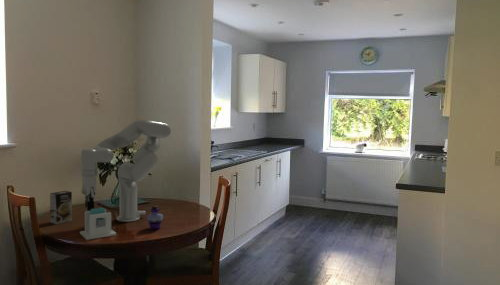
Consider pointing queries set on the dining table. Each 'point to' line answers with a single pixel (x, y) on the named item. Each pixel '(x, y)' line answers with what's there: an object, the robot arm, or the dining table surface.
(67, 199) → the coffee box
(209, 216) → the dining table surface
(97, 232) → the bearing block
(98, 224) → the shaft
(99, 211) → the block
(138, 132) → the robot arm
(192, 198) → the dining table surface
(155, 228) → the potion bottle
